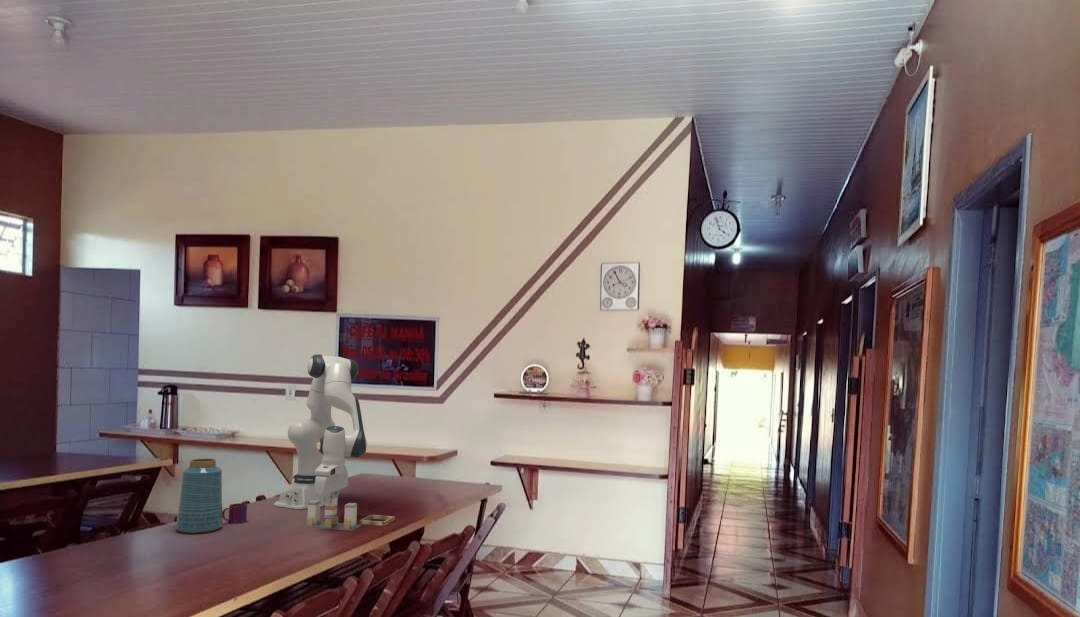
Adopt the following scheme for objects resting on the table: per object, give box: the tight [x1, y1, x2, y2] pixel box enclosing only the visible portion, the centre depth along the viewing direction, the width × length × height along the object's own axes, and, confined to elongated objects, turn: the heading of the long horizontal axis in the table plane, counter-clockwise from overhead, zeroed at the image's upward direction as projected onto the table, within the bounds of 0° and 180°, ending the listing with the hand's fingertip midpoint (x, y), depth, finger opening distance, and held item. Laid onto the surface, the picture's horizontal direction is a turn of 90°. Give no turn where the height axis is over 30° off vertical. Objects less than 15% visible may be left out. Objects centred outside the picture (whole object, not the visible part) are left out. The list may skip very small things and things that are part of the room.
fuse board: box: [299, 516, 363, 532], centre depth 288 cm, size 22×10×4 cm, turn 77°
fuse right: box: [343, 502, 358, 528], centre depth 287 cm, size 3×3×9 cm
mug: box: [222, 502, 248, 525], centre depth 295 cm, size 7×10×7 cm
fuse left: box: [307, 500, 321, 525], centre depth 290 cm, size 3×3×9 cm
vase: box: [175, 457, 223, 535], centre depth 283 cm, size 16×16×27 cm
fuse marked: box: [324, 492, 339, 519], centre depth 289 cm, size 3×3×9 cm
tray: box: [358, 514, 397, 527], centre depth 297 cm, size 11×11×2 cm
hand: (331, 503), depth 289 cm, fingers closed on fuse marked, 3 cm apart
